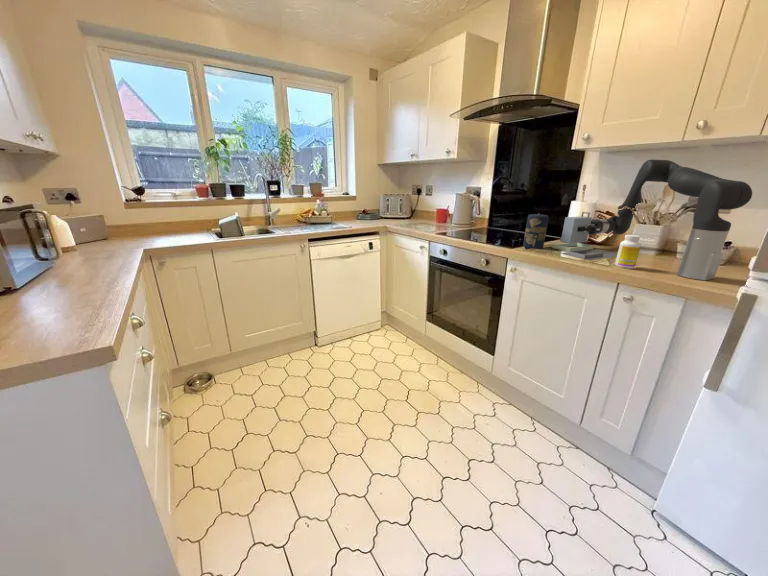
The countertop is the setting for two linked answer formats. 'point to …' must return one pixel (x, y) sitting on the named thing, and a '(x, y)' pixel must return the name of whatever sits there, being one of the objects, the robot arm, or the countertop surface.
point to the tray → (566, 248)
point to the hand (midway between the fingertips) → (573, 228)
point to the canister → (535, 231)
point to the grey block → (575, 229)
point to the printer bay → (591, 254)
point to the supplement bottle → (628, 252)
